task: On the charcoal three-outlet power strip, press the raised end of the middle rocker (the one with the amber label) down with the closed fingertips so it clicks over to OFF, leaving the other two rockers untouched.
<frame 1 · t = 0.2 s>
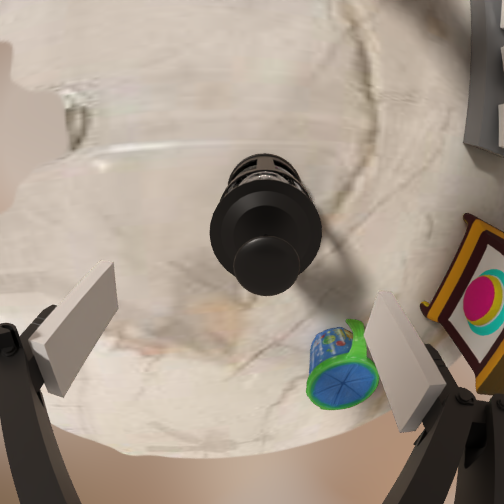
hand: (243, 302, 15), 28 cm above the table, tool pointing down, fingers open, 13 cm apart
french press: (264, 193, 42), on the table
power strip: (492, 71, 32), on the table
snack cup: (332, 342, 51), on the table
decorative lantern: (474, 272, 45), on the table
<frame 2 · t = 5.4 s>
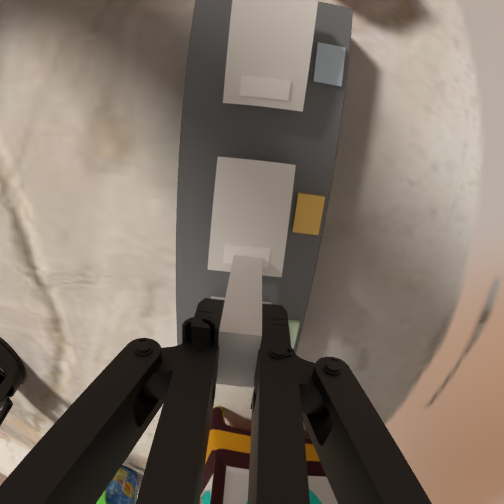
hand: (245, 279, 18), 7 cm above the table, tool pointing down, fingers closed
french press: (2, 359, 33), on the table
power strip: (253, 190, 23), on the table
snack cup: (118, 469, 43), on the table
decorative lantern: (264, 450, 37), on the table
rocker 2: (250, 216, 18), point 6 cm above the table, hinge at -10.9°, touching gripper
rocker 1: (269, 49, 14), point 6 cm above the table, hinge at 12.0°
rocker 3: (236, 345, 21), point 6 cm above the table, hinge at -12.0°
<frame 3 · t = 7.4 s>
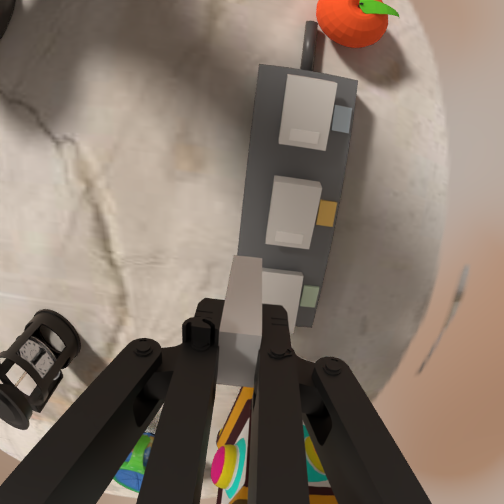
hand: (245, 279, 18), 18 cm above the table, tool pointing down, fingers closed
french press: (57, 336, 44), on the table
power strip: (288, 198, 34), on the table
snack cup: (150, 440, 52), on the table
decorative lantern: (283, 411, 47), on the table
rocker 2: (292, 213, 29), point 6 cm above the table, hinge at 10.1°
rocker 1: (307, 111, 25), point 6 cm above the table, hinge at 12.0°
clementine: (348, 25, 27), on the table
rocker 3: (277, 301, 32), point 6 cm above the table, hinge at -12.0°
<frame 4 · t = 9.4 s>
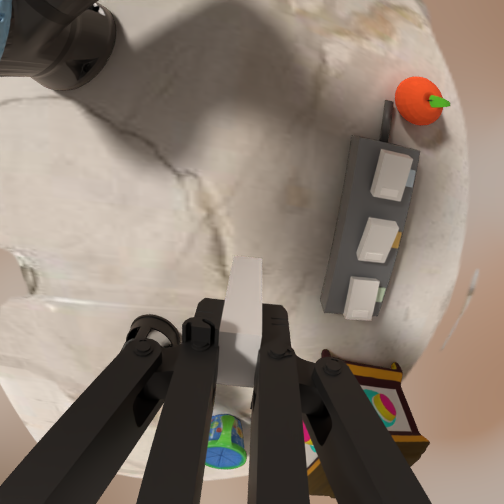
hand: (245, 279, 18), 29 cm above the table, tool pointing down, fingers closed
french press: (155, 336, 56), on the table
power strip: (364, 226, 47), on the table
snack cup: (224, 421, 66), on the table
decorative lantern: (343, 384, 60), on the table
rocker 2: (377, 241, 41), point 6 cm above the table, hinge at 16.8°
rocker 1: (391, 175, 38), point 6 cm above the table, hinge at 12.0°
clementine: (411, 101, 39), on the table
rocker 3: (361, 298, 45), point 6 cm above the table, hinge at -12.0°
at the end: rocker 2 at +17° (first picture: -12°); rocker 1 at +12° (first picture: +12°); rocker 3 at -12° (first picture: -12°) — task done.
